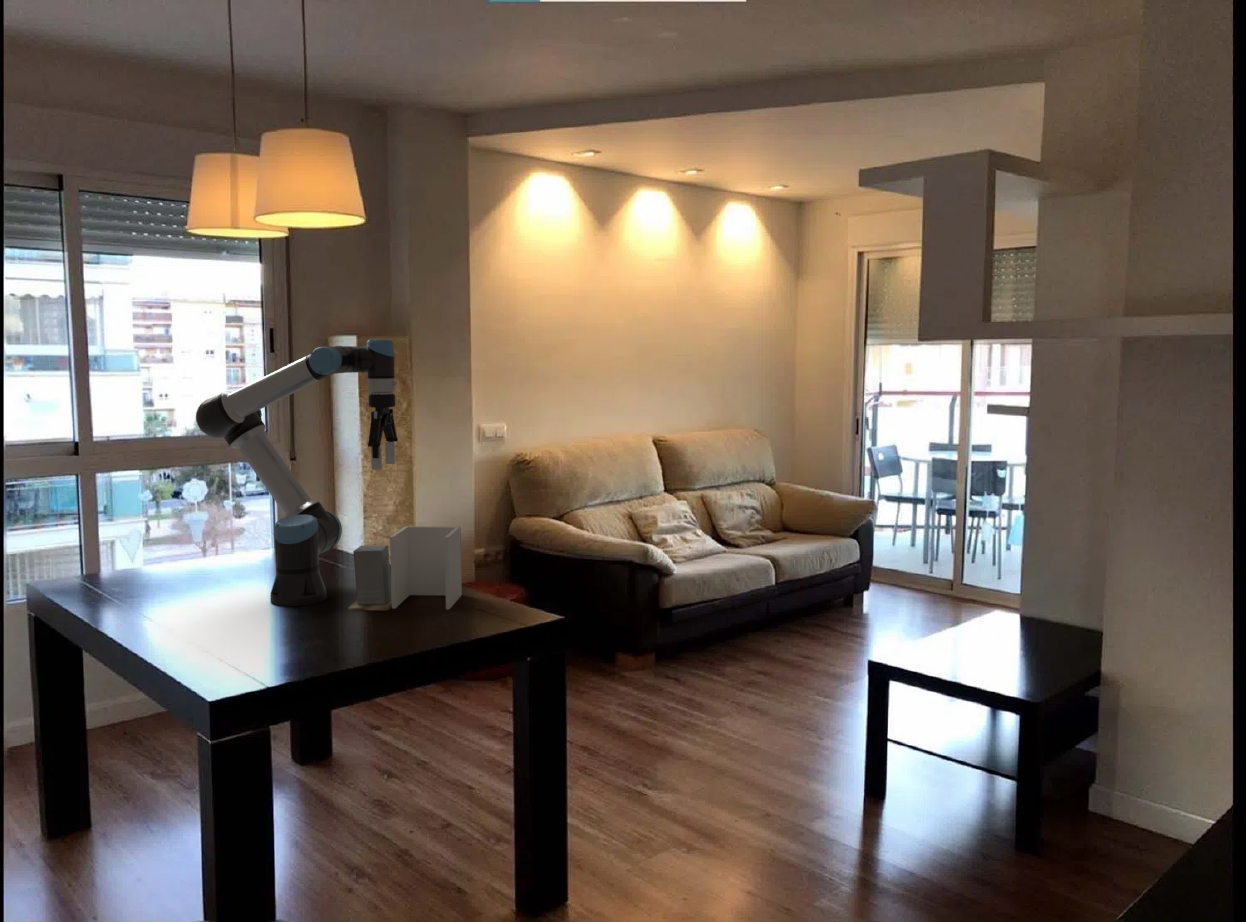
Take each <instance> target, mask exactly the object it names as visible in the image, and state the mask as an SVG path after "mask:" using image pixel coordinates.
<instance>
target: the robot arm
mask: <svg viewBox="0 0 1246 922" xmlns="http://www.w3.org/2000/svg"><path fill="white" fill-rule="evenodd" d="M346 373H351V374H352V373H354V374H355V373H366V374H367V392H368V393H369V394H368V407H370V408H374V411H371V413H370V415H371V419H370V427H369V436H368V443H367V447H369V448H371V451H370V453H371V470H372V471H373V470H378V471H380V470H383V455H382V453H383V452H382V446H381V443H382V437H383V434H384V437H385V441H384V452H385V465H395V464H396V445H395V444H396V443H395V442H398V440H399V439H398V435H397V428H396V424H395V419H394V418H395V417H394V410H393V409H394V407H395V406H396V395H395V391H396V387H395V386H396V385H397V381H395V378H396V377H395V348H394V342H393V341H392V340H391V339H367V341H366V345H365V346H364V345H363V346H350V345H349V346H348V345H347V346H345V345H344V346H343V345H335V346H330V345H326V346H323V345H322V346H319V347H316V348H315V349H314V350H313V351H312V352H311V353H310V354H308V355H306V356H304V357H302V358H300V359H298V360H295V361H294V362H291V363H288V364H287V365H285V366H283V367H281V368H279V369H278V370H275V371H274V372H271V373H270V374H267V375H265V376H263V377H260V378H259V379H257V380H254V381H253V382H250V383H248V384H247V385H244V386H242V387H240V388H239V389H236V390H234V391H223V392H221V393H219V394H217V395H215V396H212V397H209V398H207V399H206V400H204V401H201V403H200V405H199V406H198V408H197V410H196V412H195V421H196V424H197V427H198V428H199V429H200V431H201V432H202V433H204V434H205V435H207V436H209V437H212V438H220V439H221V438H223V439H224V441H226V443H227V445H228V446H229V447H230V448H231V449H235V450H238V451H239V452H240V454H241V455H242V456H243V458H244V460H245V461H246V462H247V464H249V466H250V468H251V469H252V470H253V471H254V473H255V474H256V476H257V478H258V479H259V480H260V482H261V483H262V484H263V486H264V487H265V489H266V490H267V492H268V493H269V494H270V496H271V497H272V499H273V500H274V501H275V503H276V505H278V507H279V508H280V509H281V511H282V512H283V514H284V515H285V517H282V518H280V519H278V520H277V521H276V522H275V525H274V532H273V538H274V554H275V555H274V557H275V558H274V559H275V578H274V581H273V584H272V588H271V591H270V603H271V604H273V605H275V606H282V607H298V606H299V607H300V606H301V607H302V606H308V605H313V604H317V603H320V602H323V601H325V600H326V599H327V589H326V586H325V583H324V581H323V578H322V575H321V572H320V558H319V557H320V556H319V555H321V554H323V553H327V552H328V551H330V550H331V549H333V548H334V547H335V546H336V545H338V543H339V542H340V539H341V537H342V533H343V527H342V526H343V525H342V523H341V521H340V519H339V517H338V516H337V515H336V514H335V513H333V512H331V511H328V510H326V509H325V507H324V506H323V504H322V503H321V502H320V501H319V500H314V499H311V497H310V496H309V494H308V493H307V491H306V490H305V489H304V487H303V486H302V485H301V483H300V481H299V480H298V479H297V477H296V475H294V473H293V472H292V470H291V469H290V468H289V466H288V464H287V463H286V462H285V460H284V459H283V458H282V456H281V455H280V454H279V452H278V451H277V449H276V447H274V445H273V443H272V442H271V441H270V439H269V438H268V436H267V435H266V434H265V433H266V432H265V431H266V427H267V426H266V424H265V423H264V421H263V420H262V419H263V418H262V416H263V414H262V409H264V408H267V407H268V406H270V405H272V404H274V403H276V402H278V401H280V400H282V399H284V398H286V397H289V396H290V395H292V394H295V393H297V392H298V391H300V390H301V391H302V390H303V389H304V388H307V387H309V386H311V385H313V384H315V383H317V382H319V381H321V380H323V379H325V378H327V377H330V376H332V375H334V374H335V375H336V374H346Z"/></svg>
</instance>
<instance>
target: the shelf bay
mask: <svg viewBox="0 0 1246 922" xmlns="http://www.w3.org/2000/svg"><path fill="white" fill-rule="evenodd" d="M461 530H462V528H461V526H436V525H435V526H431V525H430V526H426V525H425V526H423V525H422V526H421V525H419V526H418V525H405V526H404V527H402V528H400V529H399V530H397V531H396V532H395V533H393V534H392V535H390V536H389V560H390V574H391V595H392V607H391V609H397V608H398V607H399V606H400V605H401V604H402V603H403V602H404V601H405V600H406V599H407V598H408V597H410V596H445V610H450V609H451V608H452V607H453V606H454V605H455V604H456V603H457V601H458V600H459V599H460V598H461V597H462V596H463V595H462V594H463V591H462V590H463V589H462V587H463V586H462V585H463V583H462V580H463V579H462V578H463V576H462V538H461V537H462V534H461V533H462V531H461Z"/></svg>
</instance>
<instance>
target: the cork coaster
mask: <svg viewBox="0 0 1246 922" xmlns="http://www.w3.org/2000/svg"><path fill="white" fill-rule="evenodd" d="M390 609H392V600H390V601H389V602H388V603H387V604H385V605H358V604H357V600H356V601H354V602H353V603H352V604H351V605H349V607H347V610H348V611H389V610H390Z"/></svg>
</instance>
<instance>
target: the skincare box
mask: <svg viewBox="0 0 1246 922" xmlns="http://www.w3.org/2000/svg"><path fill="white" fill-rule="evenodd" d="M352 553H353V562H354V563H353V564H354V566H353V567H354V577H355V586H356V587H355V588H356V592H355V593H356V601H357V604H358V605H385V604H387V603H388V602H389V601H390V600H392V595H391V561H390V548H389V545H384V544H383V545H360V546H359V547H357V548H356V549H354V550H353V551H352Z"/></svg>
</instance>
